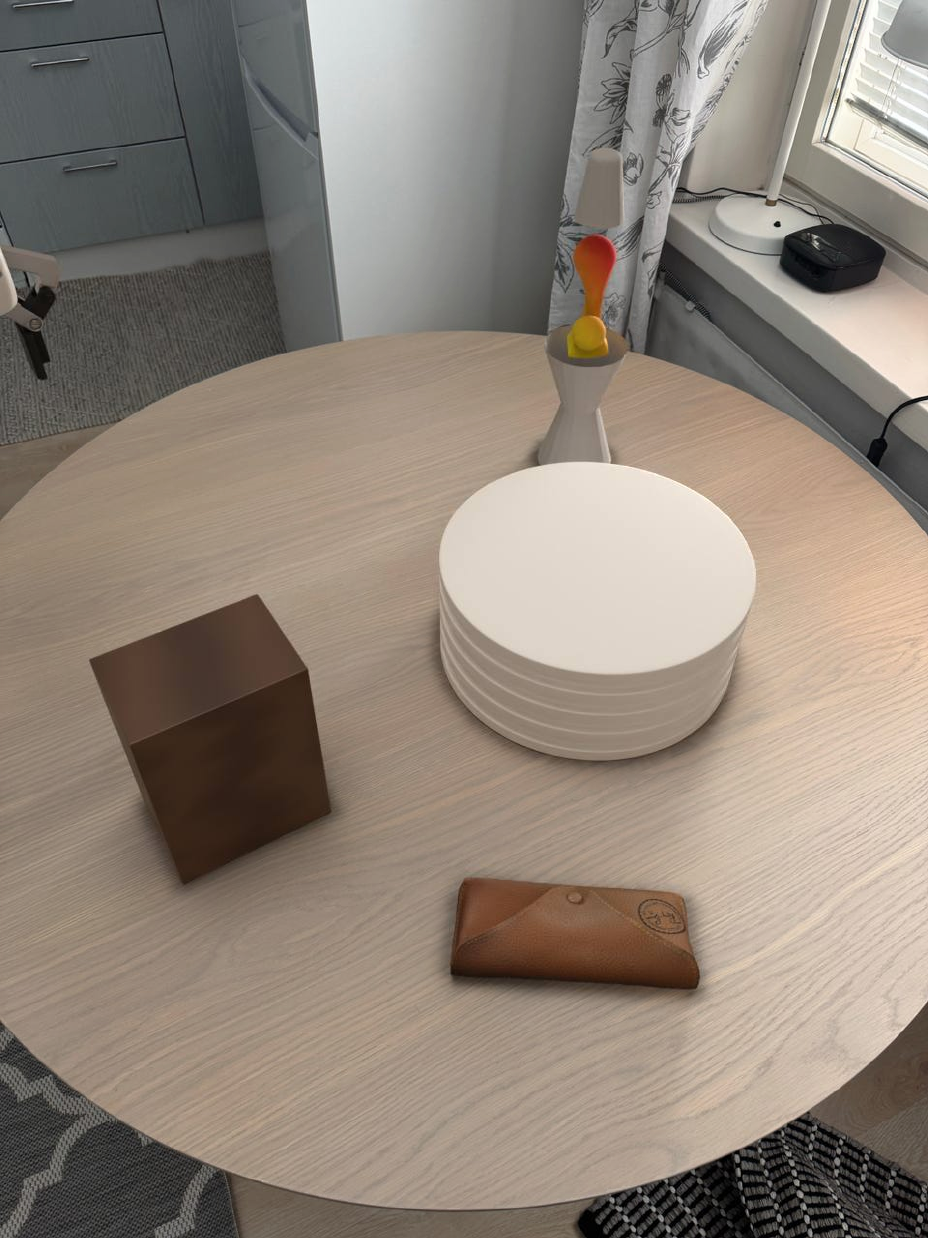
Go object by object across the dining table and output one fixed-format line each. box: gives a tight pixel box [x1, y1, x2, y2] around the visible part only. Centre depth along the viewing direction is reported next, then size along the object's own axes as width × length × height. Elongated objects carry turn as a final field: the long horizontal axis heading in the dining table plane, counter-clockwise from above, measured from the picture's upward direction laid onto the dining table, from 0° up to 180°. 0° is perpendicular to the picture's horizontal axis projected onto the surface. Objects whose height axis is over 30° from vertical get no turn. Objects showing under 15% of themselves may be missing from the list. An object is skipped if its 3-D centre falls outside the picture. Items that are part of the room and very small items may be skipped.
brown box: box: [88, 593, 332, 885], centre depth 77 cm, size 13×10×18 cm
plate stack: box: [438, 462, 757, 762], centre depth 93 cm, size 28×28×12 cm
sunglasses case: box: [449, 877, 701, 991], centre depth 74 cm, size 18×7×7 cm
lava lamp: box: [537, 147, 629, 466], centre depth 105 cm, size 9×9×35 cm
